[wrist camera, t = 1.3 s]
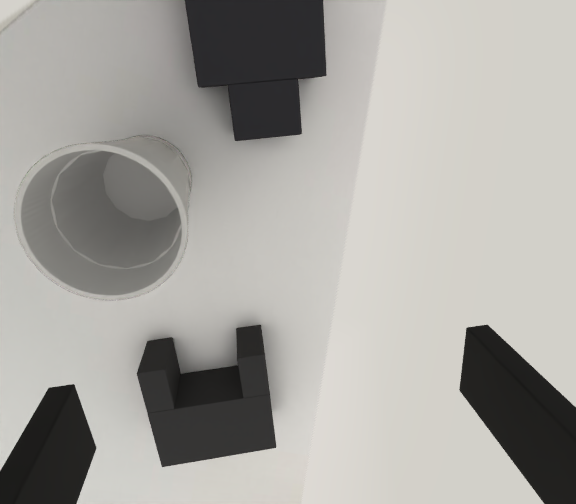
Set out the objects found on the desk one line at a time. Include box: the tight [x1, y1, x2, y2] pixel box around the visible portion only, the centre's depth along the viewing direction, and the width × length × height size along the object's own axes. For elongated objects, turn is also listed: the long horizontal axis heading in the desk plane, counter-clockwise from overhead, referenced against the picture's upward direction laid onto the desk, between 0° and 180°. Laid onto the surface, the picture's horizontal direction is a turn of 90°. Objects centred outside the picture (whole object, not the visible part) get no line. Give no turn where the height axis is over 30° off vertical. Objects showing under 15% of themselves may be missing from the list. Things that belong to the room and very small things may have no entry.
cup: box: [14, 135, 191, 300], centre depth 26 cm, size 8×8×12 cm
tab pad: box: [185, 0, 326, 141], centre depth 27 cm, size 11×8×4 cm
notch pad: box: [137, 325, 276, 467], centre depth 36 cm, size 10×10×4 cm
